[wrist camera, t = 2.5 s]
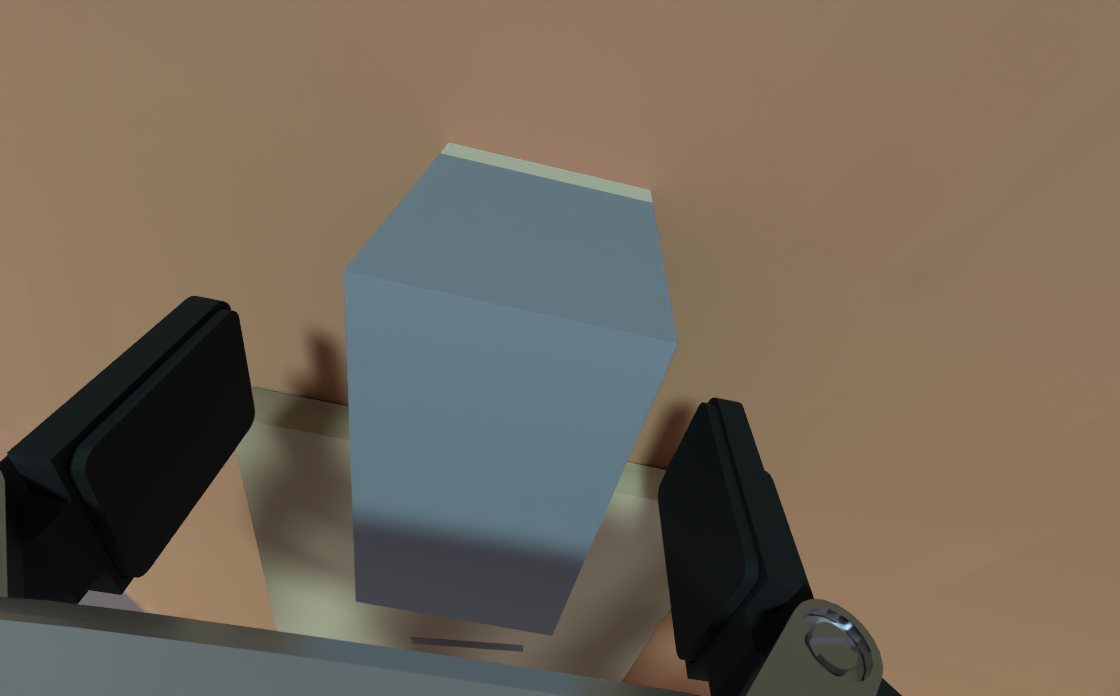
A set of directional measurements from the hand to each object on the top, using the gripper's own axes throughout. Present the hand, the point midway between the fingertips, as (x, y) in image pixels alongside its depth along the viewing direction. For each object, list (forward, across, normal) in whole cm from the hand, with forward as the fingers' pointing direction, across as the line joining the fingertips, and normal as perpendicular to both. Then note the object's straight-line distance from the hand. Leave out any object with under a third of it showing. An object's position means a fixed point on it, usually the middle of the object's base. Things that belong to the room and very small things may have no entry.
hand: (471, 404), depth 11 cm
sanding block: (+3, -1, 0) cm, 3 cm away
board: (+3, -1, +13) cm, 13 cm away
